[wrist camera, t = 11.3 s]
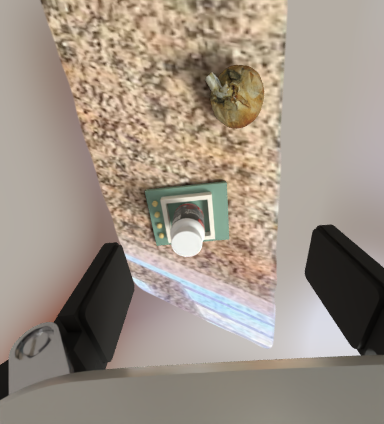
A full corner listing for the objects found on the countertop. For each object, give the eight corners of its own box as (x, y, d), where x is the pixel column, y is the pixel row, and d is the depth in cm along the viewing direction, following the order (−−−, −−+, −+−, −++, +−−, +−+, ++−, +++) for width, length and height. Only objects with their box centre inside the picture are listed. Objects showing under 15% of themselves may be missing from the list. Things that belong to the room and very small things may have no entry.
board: (145, 189, 39) (142, 194, 36) (225, 181, 38) (227, 185, 35) (157, 243, 44) (155, 250, 41) (228, 236, 43) (230, 243, 40)
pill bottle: (209, 212, 39) (213, 240, 30) (192, 233, 41) (192, 266, 32) (184, 196, 38) (181, 221, 29) (168, 219, 40) (160, 249, 31)
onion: (214, 133, 34) (219, 138, 27) (201, 79, 31) (204, 68, 24) (259, 119, 33) (277, 120, 26) (251, 62, 30) (269, 45, 23)
